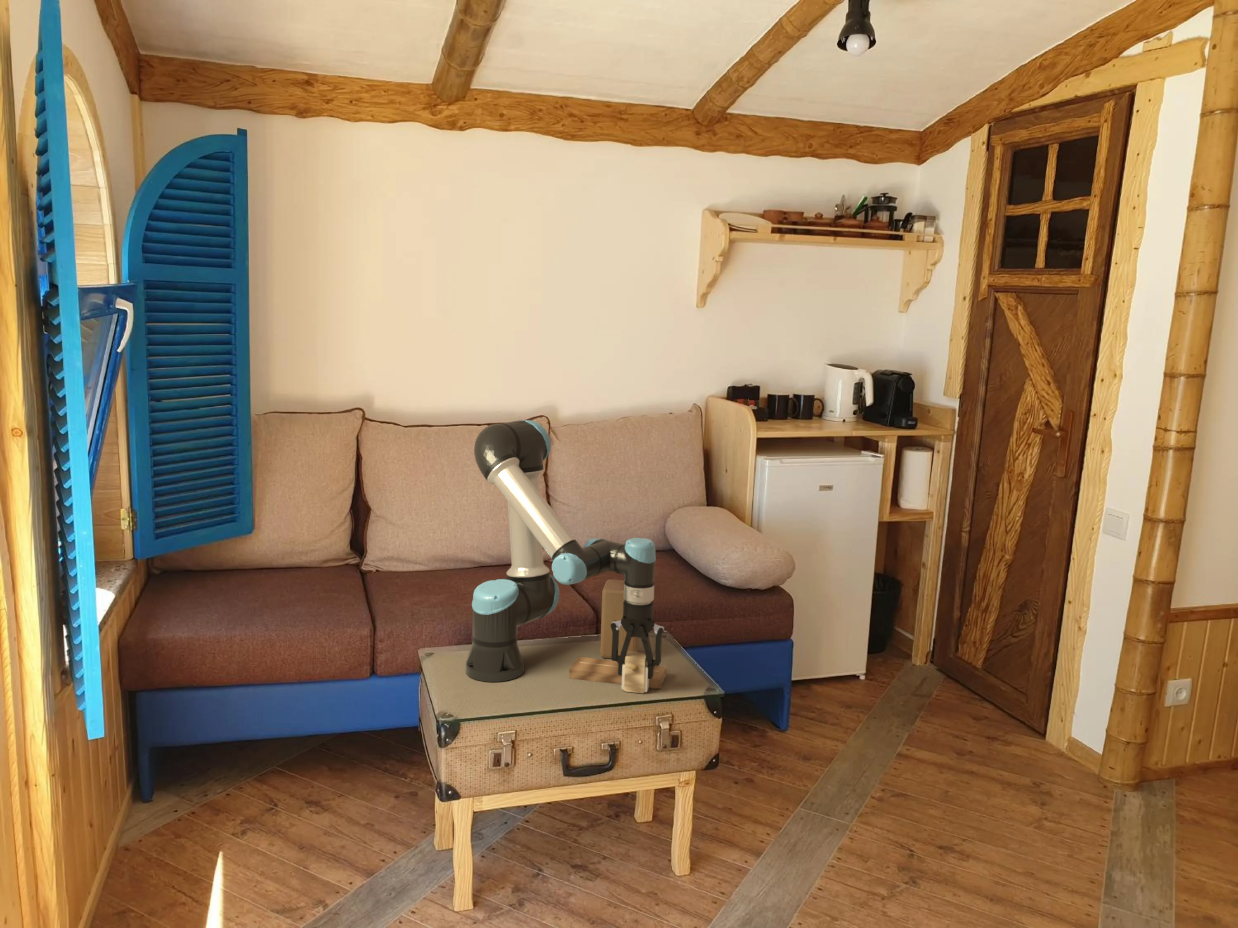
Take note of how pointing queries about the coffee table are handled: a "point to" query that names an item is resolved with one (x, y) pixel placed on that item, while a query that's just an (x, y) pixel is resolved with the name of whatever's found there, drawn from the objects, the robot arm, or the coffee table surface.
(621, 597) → the wooden block
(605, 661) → the board
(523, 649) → the coffee table surface
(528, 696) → the coffee table surface
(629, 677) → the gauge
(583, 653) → the coffee table surface
